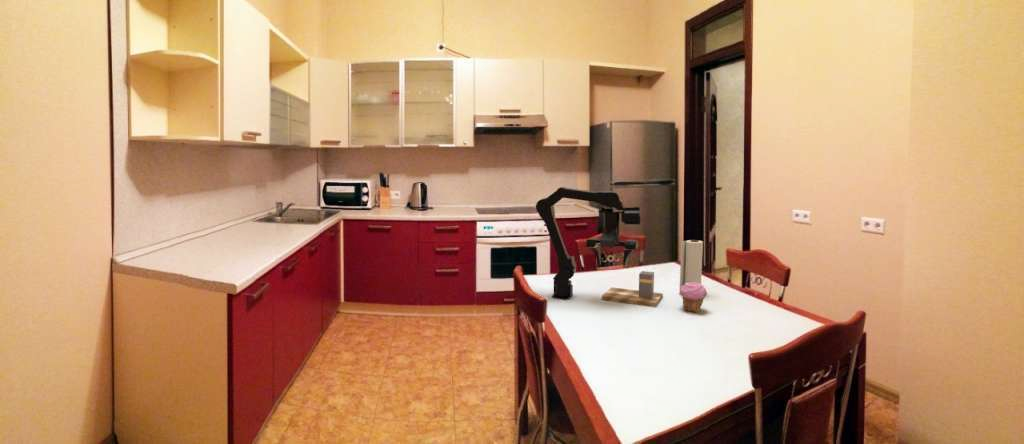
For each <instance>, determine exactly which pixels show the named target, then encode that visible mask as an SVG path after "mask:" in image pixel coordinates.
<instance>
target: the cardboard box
mask: <svg viewBox="0 0 1024 444" xmlns="http://www.w3.org/2000/svg"><path fill="white" fill-rule="evenodd" d="M662 299H664V294H663V293H661V292H654V291H653V297H652V298H651V299H649V298H641V297H639V289H638V290H637V289H628V288H619V287H612V286H611V287H610V288H609V289H608V290H607V291H606V292H605V293H603V294H602V295H601V300H602V301H609V302H616V303H624V304H631V305H638V306H646V307H653V308H657V306H658V305H659V304H660V302H661V301H662Z"/></svg>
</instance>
